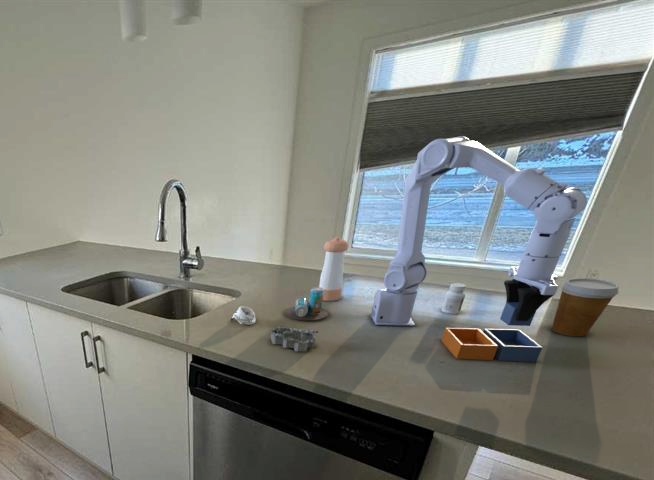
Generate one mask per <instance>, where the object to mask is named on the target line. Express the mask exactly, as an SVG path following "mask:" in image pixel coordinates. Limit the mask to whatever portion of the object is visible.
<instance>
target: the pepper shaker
mask: <svg viewBox="0 0 654 480" xmlns="http://www.w3.org/2000/svg"><path fill="white" fill-rule="evenodd" d="M349 248H350V244H349V242H348V241H347V240H345V239H341V237H339V236H336V237H334V238H333V239H330V240H328V241H326V242H325V244H324V245H323V249H324V251H325V257H324V263H323V267H322V270H321V273H320V278H319V285H318V286H317V287H321V288H323V291H324V294H323V301H325V302H335V301H339V300H340V299H341V297H342V291H343V286H342V284H343V278H344V261H345V254H346V251H348V249H349Z"/></svg>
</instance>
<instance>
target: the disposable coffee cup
mask: <svg viewBox="0 0 654 480" xmlns="http://www.w3.org/2000/svg"><path fill="white" fill-rule="evenodd" d="M619 287H620V286H619V284H618V283H616V282H614V281H613V282H612V281H608V280H605V279H598V278H587V277H586V278H585V277H576V278H575V277H573V278H568V279H567V280H566V281H565V282H564V283H563V284H561V286H560V288H561V293H560V297H559V301H558V303H557V308H556V311H555V315H554V319H553V322H552V326H551V331H553V332H555V333H557V334H559V335H564V336H568V337H569V336H570V337H584V336H587V335H588V333H590V330H591V329H592V328H593V326H594V324H595V323H596V322H597V321H598V319H599V318H600V317H601V315H602V314H603V312H604V311H605V309H606V308H607V306H608V305H609V304H610V303H611V301H612V300H613V298H614V297H616V296H617V295H619V294H620V291H619Z"/></svg>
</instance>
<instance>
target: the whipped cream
mask: <svg viewBox="0 0 654 480" xmlns="http://www.w3.org/2000/svg"><path fill="white" fill-rule="evenodd" d="M233 321H237V322H238V323H239V324H240V325H243V324H245V325H247V326H248V325H249V326H251V325H254V324H255V323H256V314H255V312H254V310H253V309H252V308H250V307H248V306H245V305H243V306H239V307H238V308H237V310H236V312H234V313H233V315H232V317H231V319H230V322H233Z"/></svg>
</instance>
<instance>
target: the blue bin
mask: <svg viewBox="0 0 654 480" xmlns="http://www.w3.org/2000/svg"><path fill="white" fill-rule="evenodd" d="M482 332H483V333H485V334H486V335H487V336H488V337H489V338H490V339H491V340H492V341H493V342H494V343H495V344H497V345H498V348H497V351H496V353H495V356H494V358H495V359H496V360H497V361H506V362H507V361H509V362H531V363H532V362H533V363H536V362H537V361H538V359H539V357H540V354H541V352H542V350H543V346H541V345H540V344H539V343H538V342H536V341H535V340H534V339H533V338H531V337H530V336H529V335H527V334H526V333H525V332H523V331H522V330H521V329H519V328H518V329H517V328H515V329H514V328H483V330H482Z"/></svg>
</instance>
